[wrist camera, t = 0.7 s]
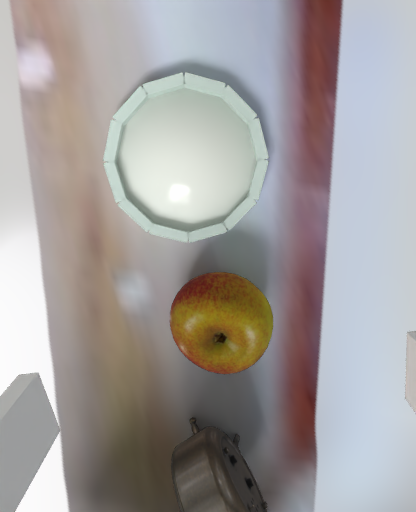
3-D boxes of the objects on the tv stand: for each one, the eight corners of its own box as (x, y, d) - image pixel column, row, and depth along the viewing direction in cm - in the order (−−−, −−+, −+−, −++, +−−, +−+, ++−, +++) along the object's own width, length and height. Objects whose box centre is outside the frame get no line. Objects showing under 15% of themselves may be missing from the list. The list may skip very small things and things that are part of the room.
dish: (280, 216, 35) (284, 216, 33) (136, 257, 35) (133, 260, 33) (241, 60, 32) (243, 52, 30) (88, 106, 33) (81, 101, 31)
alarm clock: (173, 417, 38) (152, 577, 22) (215, 392, 37) (225, 536, 21) (226, 491, 39) (243, 691, 23) (266, 468, 39) (312, 654, 23)
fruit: (160, 332, 36) (149, 368, 28) (190, 252, 35) (187, 266, 27) (245, 361, 37) (258, 404, 29) (277, 284, 36) (299, 307, 28)
